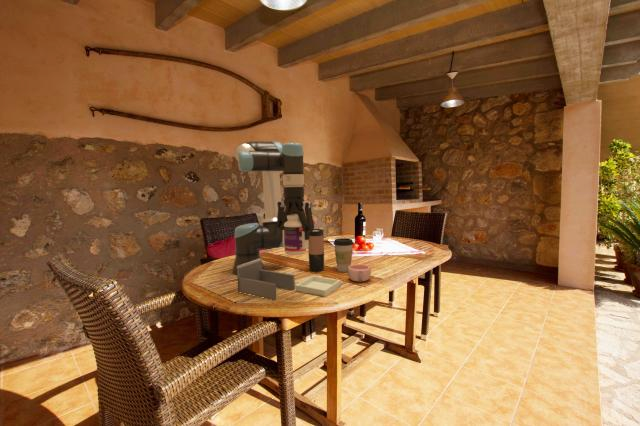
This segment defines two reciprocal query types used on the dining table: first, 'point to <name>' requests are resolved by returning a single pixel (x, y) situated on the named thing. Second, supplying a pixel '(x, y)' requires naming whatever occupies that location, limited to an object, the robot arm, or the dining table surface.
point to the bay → (262, 280)
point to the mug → (359, 272)
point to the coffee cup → (343, 253)
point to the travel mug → (316, 250)
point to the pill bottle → (293, 236)
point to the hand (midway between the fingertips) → (295, 247)
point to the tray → (318, 286)
